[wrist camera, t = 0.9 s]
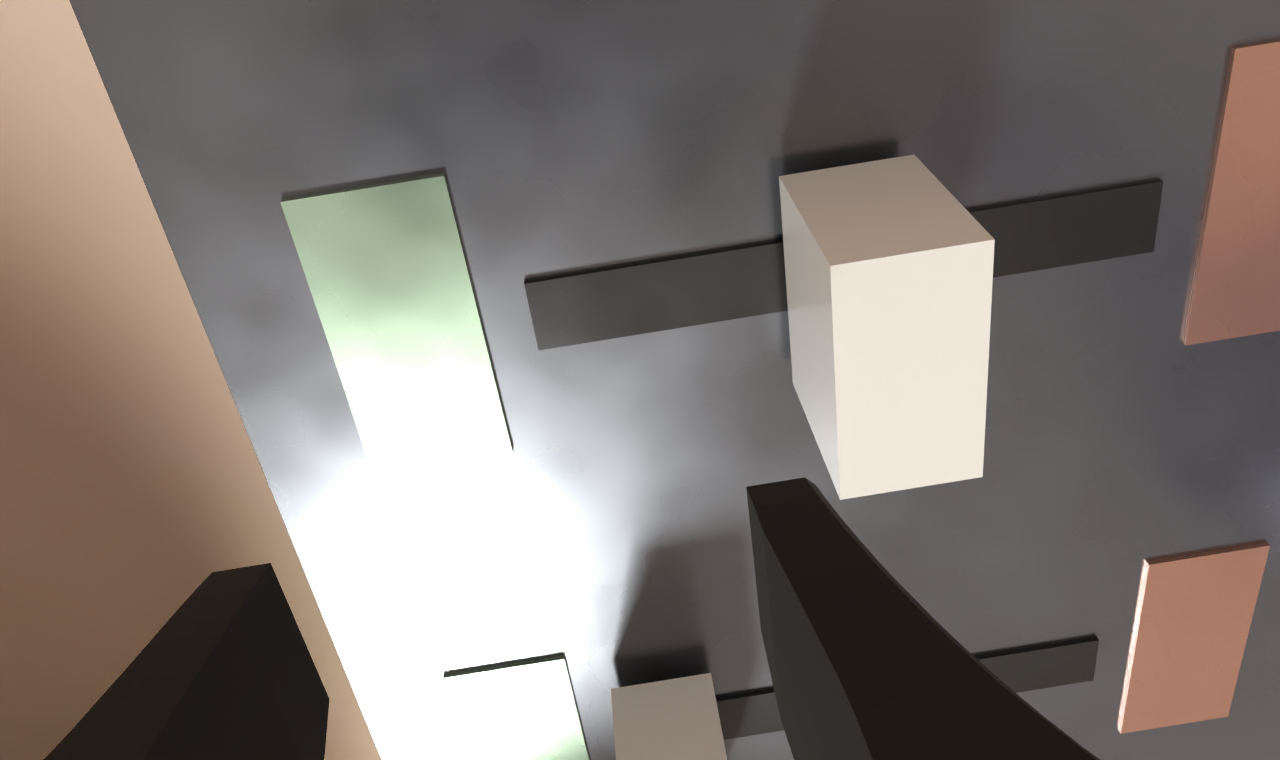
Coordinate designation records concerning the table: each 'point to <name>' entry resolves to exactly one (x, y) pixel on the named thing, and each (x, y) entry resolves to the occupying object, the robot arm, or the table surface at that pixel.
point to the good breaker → (668, 720)
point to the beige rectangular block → (888, 323)
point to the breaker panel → (728, 338)
